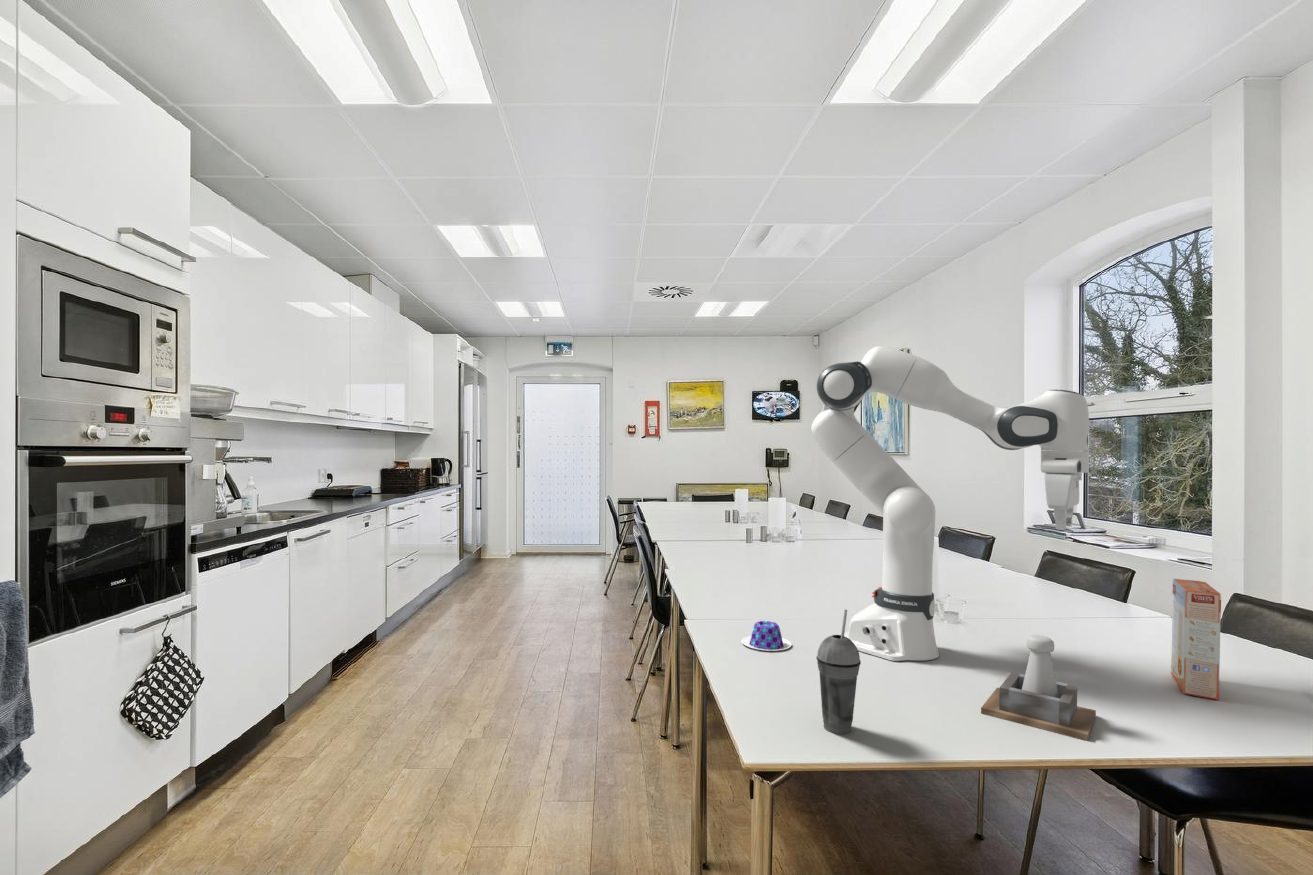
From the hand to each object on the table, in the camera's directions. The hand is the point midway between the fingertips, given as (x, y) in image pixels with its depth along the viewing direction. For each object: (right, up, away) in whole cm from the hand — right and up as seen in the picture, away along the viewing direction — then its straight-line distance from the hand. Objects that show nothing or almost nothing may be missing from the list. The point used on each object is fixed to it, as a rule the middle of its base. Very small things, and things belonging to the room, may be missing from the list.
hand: (1063, 527), depth 137 cm
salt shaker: (-19, -30, -23) cm, 42 cm away
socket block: (-20, -30, -23) cm, 43 cm away
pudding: (-62, -31, +15) cm, 71 cm away
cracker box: (+21, -32, -8) cm, 39 cm away
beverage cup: (-58, -30, -31) cm, 72 cm away
